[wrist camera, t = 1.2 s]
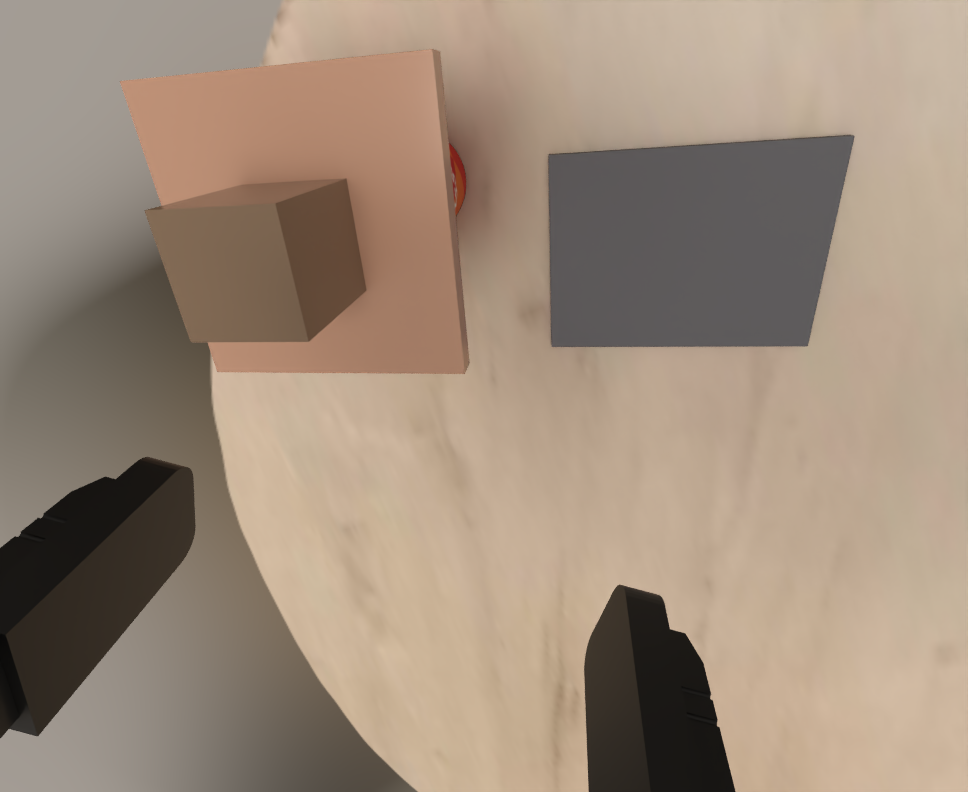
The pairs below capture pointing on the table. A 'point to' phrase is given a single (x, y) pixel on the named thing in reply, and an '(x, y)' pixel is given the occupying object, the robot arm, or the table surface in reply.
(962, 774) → the table surface
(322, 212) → the cover
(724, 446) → the table surface
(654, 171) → the mat
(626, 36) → the table surface
